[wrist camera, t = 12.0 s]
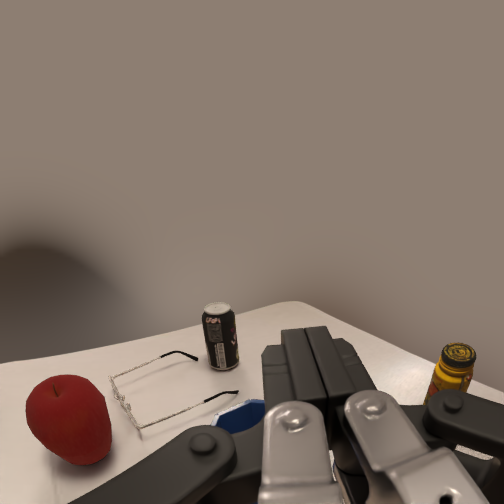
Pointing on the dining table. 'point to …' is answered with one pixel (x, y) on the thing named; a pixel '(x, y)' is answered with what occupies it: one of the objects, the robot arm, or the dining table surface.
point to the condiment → (452, 369)
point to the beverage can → (220, 336)
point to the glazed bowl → (240, 417)
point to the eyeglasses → (167, 416)
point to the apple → (70, 419)
